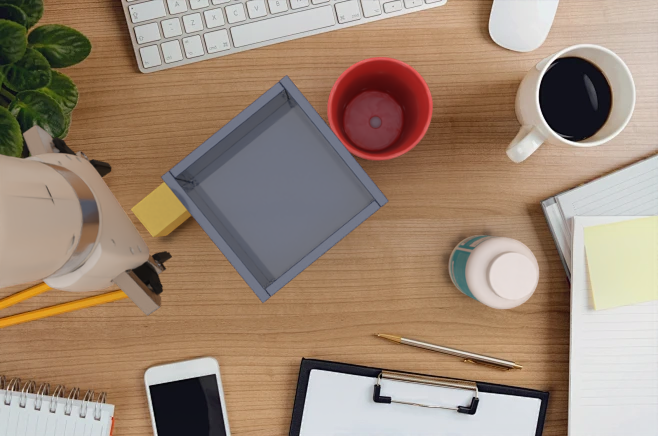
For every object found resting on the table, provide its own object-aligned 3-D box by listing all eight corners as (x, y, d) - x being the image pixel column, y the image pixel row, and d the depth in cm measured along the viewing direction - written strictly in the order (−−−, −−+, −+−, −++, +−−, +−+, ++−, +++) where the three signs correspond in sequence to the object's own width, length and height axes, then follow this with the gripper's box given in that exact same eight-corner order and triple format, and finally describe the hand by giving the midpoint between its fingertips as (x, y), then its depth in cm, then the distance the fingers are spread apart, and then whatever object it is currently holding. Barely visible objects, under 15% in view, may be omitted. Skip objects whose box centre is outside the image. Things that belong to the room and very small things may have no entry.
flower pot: (425, 160, 72) (440, 151, 63) (333, 173, 72) (334, 166, 63) (413, 71, 72) (426, 49, 63) (321, 84, 72) (320, 64, 63)
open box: (176, 180, 52) (160, 177, 47) (290, 88, 52) (286, 74, 47) (269, 294, 52) (262, 303, 47) (383, 202, 52) (389, 201, 47)
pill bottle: (486, 309, 72) (522, 330, 59) (434, 274, 72) (459, 287, 59) (522, 257, 72) (566, 266, 59) (470, 221, 72) (503, 223, 59)
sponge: (145, 209, 72) (130, 209, 67) (178, 183, 72) (165, 180, 67) (166, 235, 72) (153, 237, 67) (199, 209, 72) (188, 208, 67)
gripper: (-90, 141, 39) (40, 164, 56) (63, 366, 39) (146, 320, 56) (7, 74, 39) (107, 118, 56) (160, 300, 39) (214, 274, 56)
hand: (127, 219), depth 56 cm, fingers open, 9 cm apart
